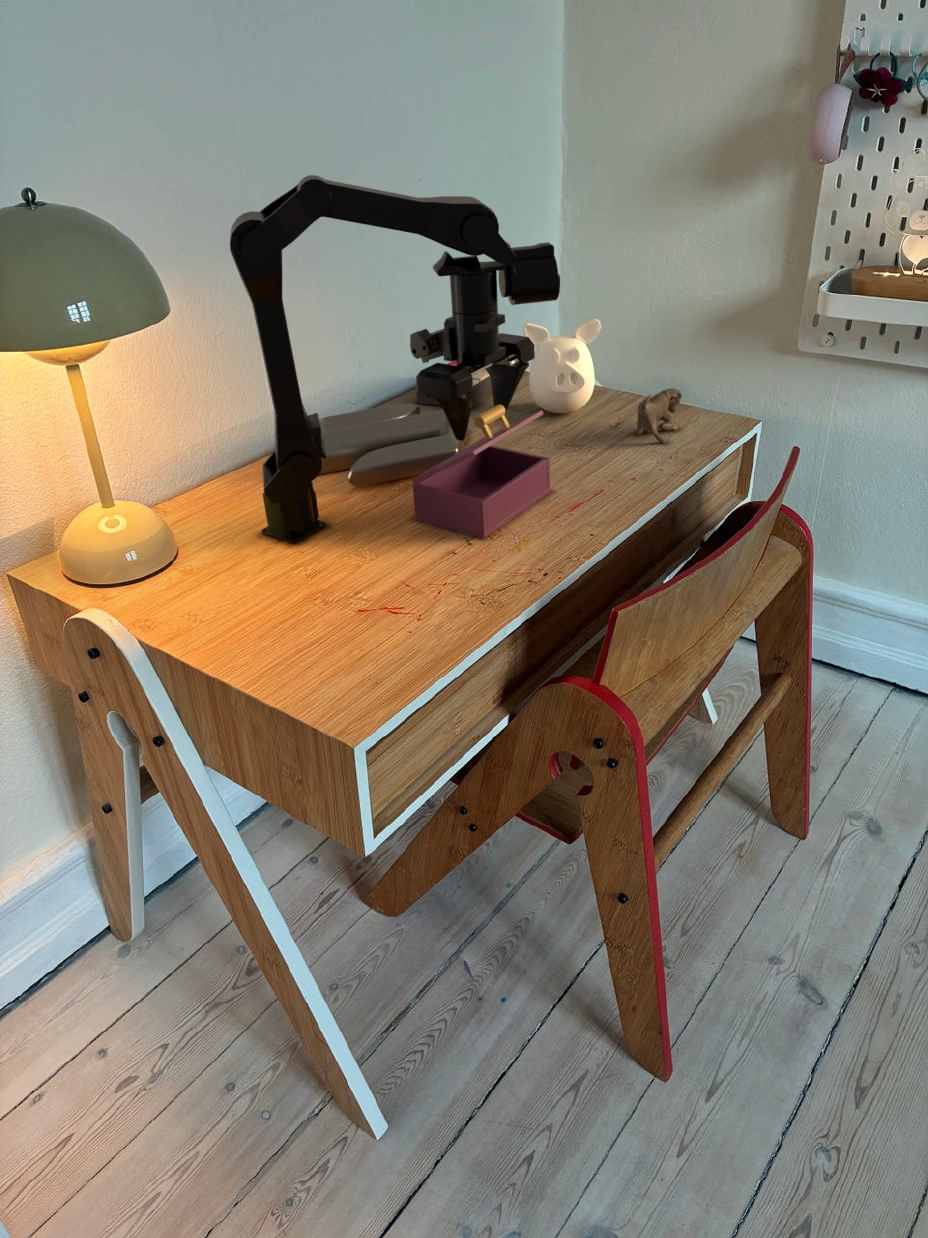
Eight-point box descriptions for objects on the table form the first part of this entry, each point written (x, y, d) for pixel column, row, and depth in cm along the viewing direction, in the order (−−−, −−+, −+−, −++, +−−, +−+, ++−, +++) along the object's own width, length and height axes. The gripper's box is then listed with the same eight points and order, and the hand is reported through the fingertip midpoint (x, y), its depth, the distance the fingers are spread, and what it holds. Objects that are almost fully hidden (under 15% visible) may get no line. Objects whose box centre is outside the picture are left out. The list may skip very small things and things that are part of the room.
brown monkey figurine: (659, 447, 148) (662, 400, 144) (625, 441, 151) (627, 395, 147) (691, 422, 156) (694, 377, 152) (658, 416, 159) (661, 372, 155)
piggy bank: (545, 429, 157) (545, 336, 149) (516, 407, 166) (514, 319, 159) (613, 415, 161) (616, 324, 153) (581, 395, 170) (582, 308, 162)
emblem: (376, 381, 166) (510, 408, 151) (379, 411, 168) (510, 441, 153) (254, 434, 147) (392, 471, 132) (260, 466, 150) (396, 506, 135)
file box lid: (543, 413, 131) (530, 386, 130) (474, 455, 120) (459, 426, 119) (483, 442, 140) (470, 417, 139) (413, 483, 128) (398, 456, 128)
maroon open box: (550, 492, 137) (549, 457, 134) (484, 538, 125) (482, 502, 123) (483, 476, 142) (482, 443, 140) (415, 519, 131) (412, 484, 129)
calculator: (507, 362, 176) (471, 384, 164) (507, 386, 178) (471, 409, 166) (453, 357, 180) (414, 378, 169) (454, 380, 182) (415, 402, 171)
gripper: (465, 285, 130) (471, 397, 139) (376, 320, 118) (388, 441, 126) (535, 293, 124) (537, 410, 133) (450, 330, 112) (458, 457, 120)
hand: (480, 428), depth 128 cm, fingers open, 9 cm apart
